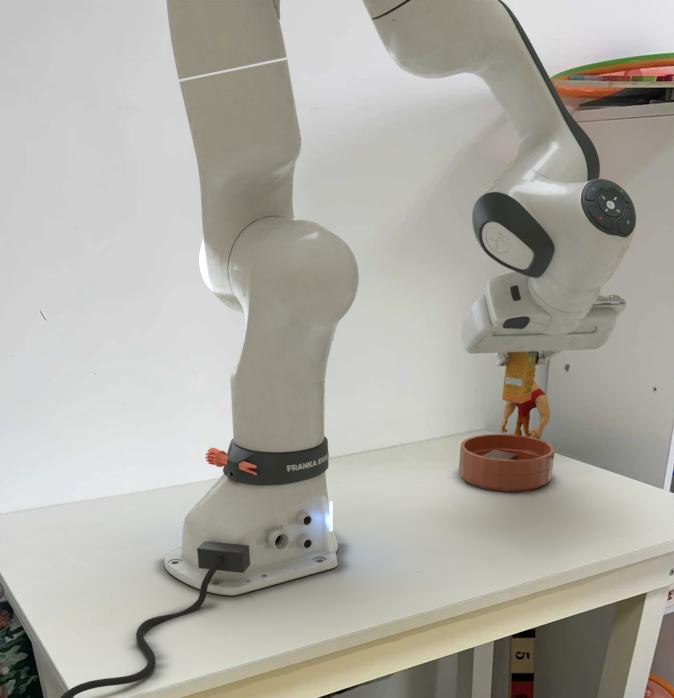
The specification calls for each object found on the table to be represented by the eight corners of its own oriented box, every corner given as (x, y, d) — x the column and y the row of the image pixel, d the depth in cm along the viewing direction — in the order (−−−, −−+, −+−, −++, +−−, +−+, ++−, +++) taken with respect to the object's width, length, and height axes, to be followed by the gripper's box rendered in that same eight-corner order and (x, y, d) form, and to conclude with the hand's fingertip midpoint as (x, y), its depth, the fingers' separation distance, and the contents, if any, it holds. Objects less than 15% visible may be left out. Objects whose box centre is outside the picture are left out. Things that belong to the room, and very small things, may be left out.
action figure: (492, 447, 151) (499, 359, 144) (506, 443, 153) (514, 356, 146) (533, 460, 144) (543, 369, 138) (548, 456, 146) (558, 366, 140)
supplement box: (523, 404, 123) (530, 331, 118) (501, 400, 125) (507, 328, 120) (533, 399, 125) (541, 327, 121) (511, 396, 127) (518, 325, 123)
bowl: (515, 499, 128) (519, 467, 125) (440, 477, 137) (442, 446, 134) (568, 477, 137) (572, 446, 134) (494, 458, 146) (496, 428, 143)
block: (503, 486, 131) (505, 460, 129) (480, 481, 133) (481, 455, 132) (515, 479, 134) (518, 454, 132) (492, 474, 136) (494, 449, 134)
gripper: (626, 275, 113) (582, 340, 126) (475, 278, 109) (447, 344, 122) (637, 317, 111) (592, 377, 124) (485, 321, 107) (455, 383, 120)
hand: (519, 361), depth 123 cm, fingers closed on supplement box, 4 cm apart
